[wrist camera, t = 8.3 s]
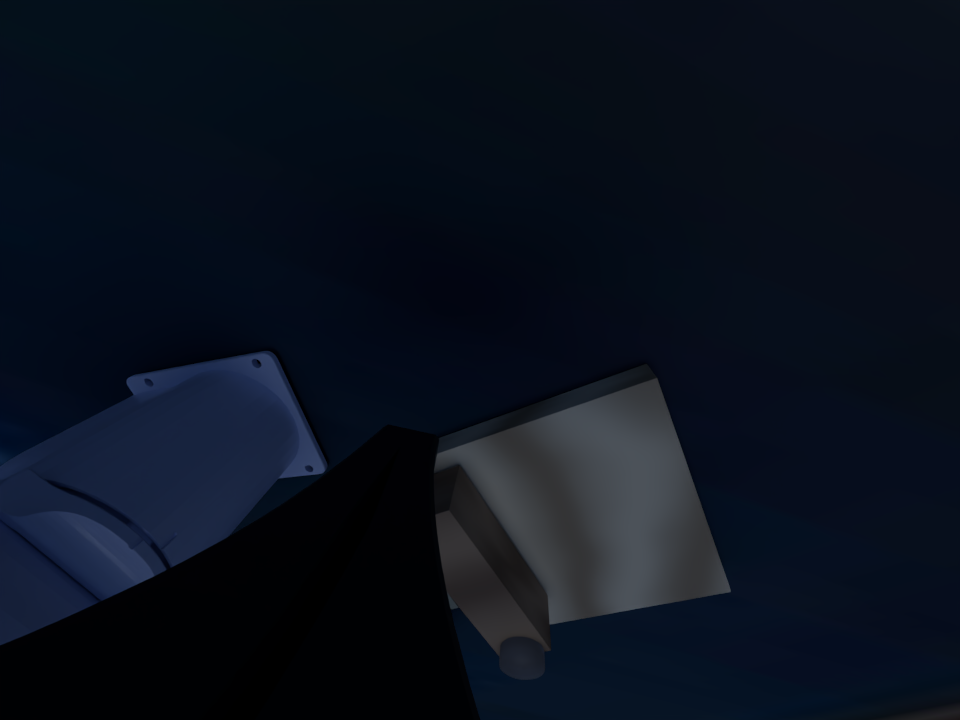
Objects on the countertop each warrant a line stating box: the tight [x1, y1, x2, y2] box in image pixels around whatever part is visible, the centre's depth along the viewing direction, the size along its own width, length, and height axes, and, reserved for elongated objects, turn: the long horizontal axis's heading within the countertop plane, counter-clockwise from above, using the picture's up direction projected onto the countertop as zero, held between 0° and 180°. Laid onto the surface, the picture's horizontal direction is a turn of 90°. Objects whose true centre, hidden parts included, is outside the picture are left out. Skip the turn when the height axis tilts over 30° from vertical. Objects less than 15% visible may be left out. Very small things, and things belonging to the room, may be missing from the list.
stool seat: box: [434, 364, 731, 624], centre depth 20 cm, size 15×15×4 cm
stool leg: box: [434, 465, 551, 680], centre depth 20 cm, size 12×3×4 cm, turn 29°
